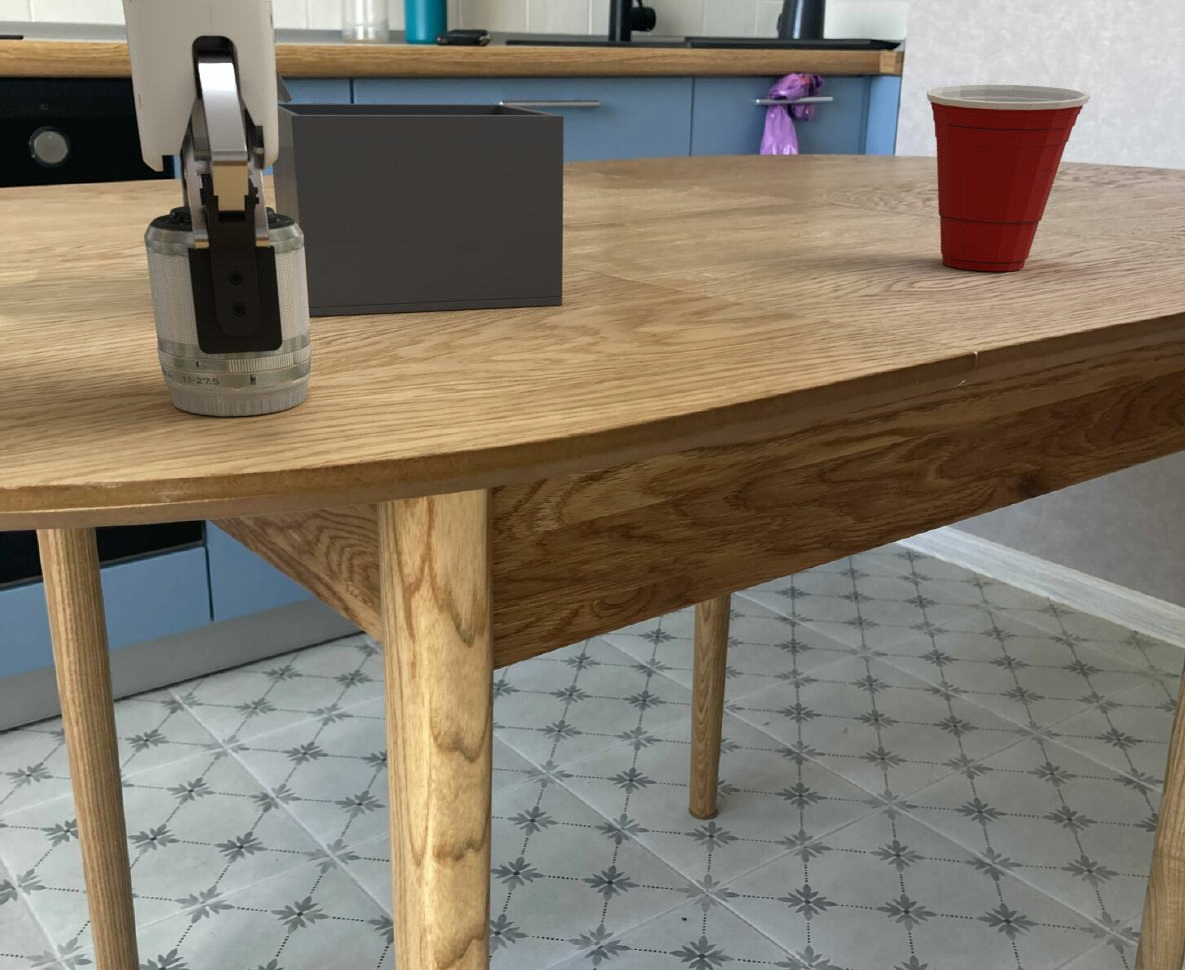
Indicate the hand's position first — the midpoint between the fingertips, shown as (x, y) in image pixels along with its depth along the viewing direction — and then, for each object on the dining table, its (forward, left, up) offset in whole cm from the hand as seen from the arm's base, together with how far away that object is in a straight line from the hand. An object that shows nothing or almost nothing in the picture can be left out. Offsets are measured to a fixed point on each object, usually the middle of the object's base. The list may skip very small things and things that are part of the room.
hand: (234, 328), depth 53 cm
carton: (-15, +22, -3) cm, 27 cm away
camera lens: (0, 0, -3) cm, 3 cm away
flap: (-19, +14, +12) cm, 27 cm away
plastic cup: (+4, +59, -3) cm, 59 cm away
